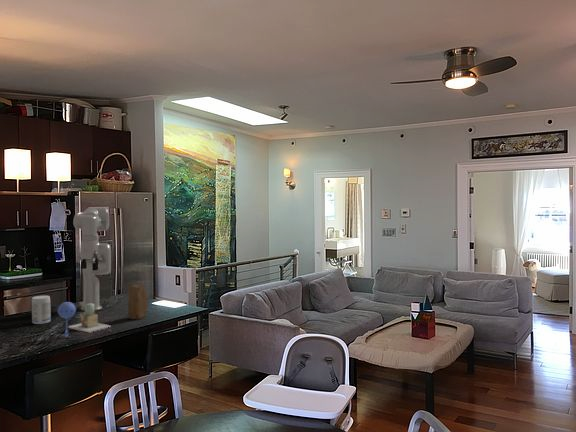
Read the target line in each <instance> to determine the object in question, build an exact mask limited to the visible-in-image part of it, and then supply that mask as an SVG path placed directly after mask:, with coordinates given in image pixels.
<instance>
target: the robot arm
mask: <svg viewBox="0 0 576 432" xmlns="http://www.w3.org/2000/svg"><path fill="white" fill-rule="evenodd" d="M72 221H73V222H72V224H73V227H74V229H77V230H78V229H81V231H82V232H81V233H82V234H81V241H80V247H79V252H78V257H79V260H80V269H81V270H82V279H83V301H82V302H81V303H80V305H82V306H81V307H80V310H81V311H84V312H85V304H89V303H93V304H94V311H98V310H101V309H103V306H102V305H100V279H99V278H98V277H97V276H98V275H99V276H100V275H109V274H110V273H111V271H112V248H111V246H110V244H109V243H107V242H105V243H104V242H100V241H99V234H98V232H99V231H102V232H103V231H104V232H105V231H108V230H109V228H110V213H109V210H108V208H106V207H104V206H103V207H101V206H100V207H93V206H91V207H87V208H86V209H84V210H83V211H81V212H76V213H75V214H74V217H73V220H72Z"/></svg>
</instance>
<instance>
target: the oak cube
mask: <svg viewBox="0 0 576 432" xmlns="http://www.w3.org/2000/svg"><path fill="white" fill-rule="evenodd" d="M98 316H99V315H98V314H97V313H94V315H93V316H85V314H82V315H81V316H80V319H81V320H80V323H81V326H83V327H87V328H89V327H93V326H97V325H98V323H99V321H98V320H99V319H98Z"/></svg>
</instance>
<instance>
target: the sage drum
mask: <svg viewBox="0 0 576 432" xmlns="http://www.w3.org/2000/svg"><path fill="white" fill-rule="evenodd" d="M94 314H95V310H94V304H93V303H89V304H85V311H84V315H85V316H93V315H94Z"/></svg>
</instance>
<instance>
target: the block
mask: <svg viewBox="0 0 576 432" xmlns="http://www.w3.org/2000/svg"><path fill="white" fill-rule="evenodd" d="M145 287H146V286H145V285H144V284H141V283H140V284H138V283H137V284H133V285H131V286H129V288H128V291H129V292H128V298H127V299H128V300H127V303H128V306H127V307H128V308H127V313H128V318H129V319H130V320H135V319H136V320H141V319H143V318H145V317H146V315H147V310H148V309H147V308H148V296H147V292H146V288H145Z"/></svg>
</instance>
